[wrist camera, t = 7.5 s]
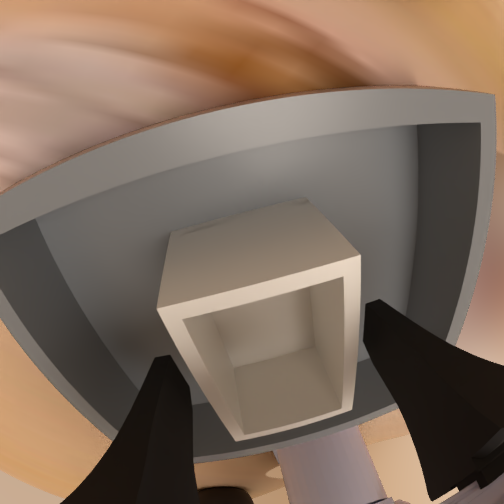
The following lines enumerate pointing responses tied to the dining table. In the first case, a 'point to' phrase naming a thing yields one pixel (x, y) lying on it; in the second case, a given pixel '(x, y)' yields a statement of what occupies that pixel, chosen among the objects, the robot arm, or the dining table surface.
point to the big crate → (238, 201)
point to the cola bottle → (224, 496)
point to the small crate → (266, 315)
